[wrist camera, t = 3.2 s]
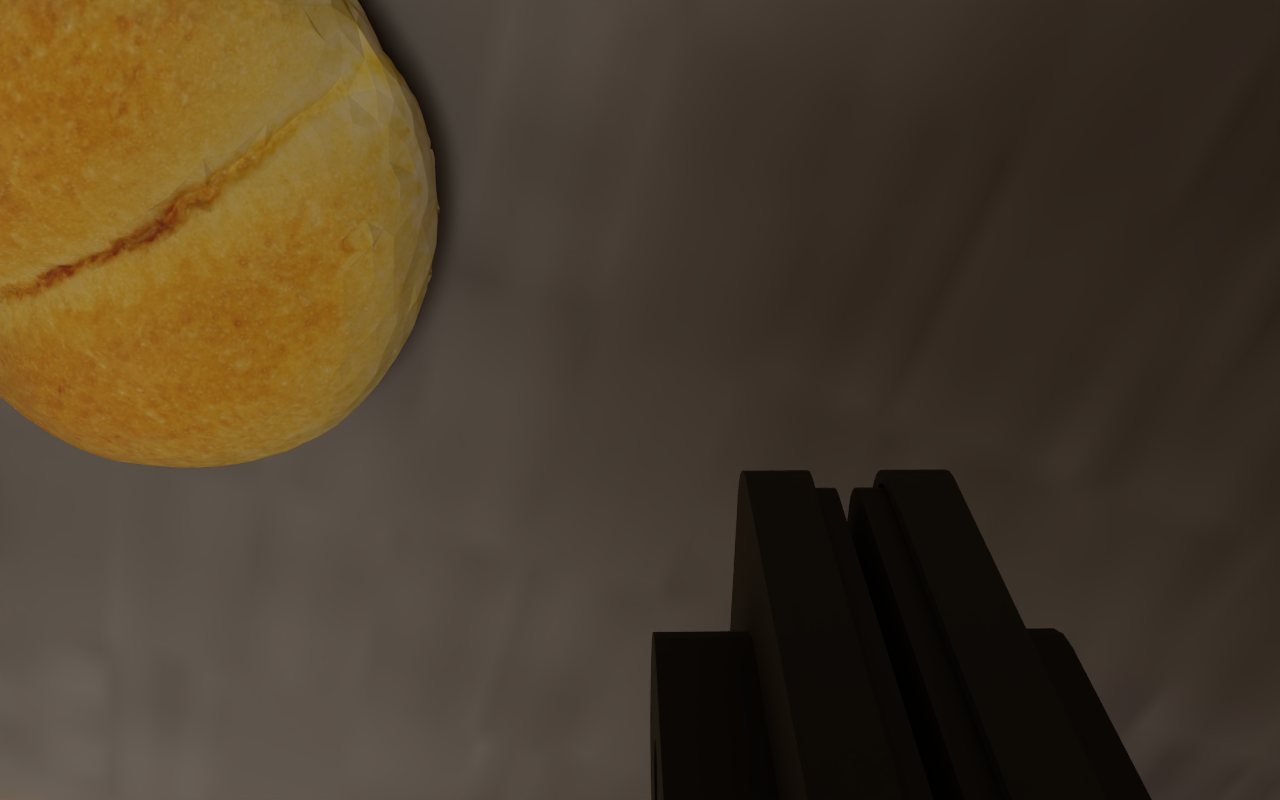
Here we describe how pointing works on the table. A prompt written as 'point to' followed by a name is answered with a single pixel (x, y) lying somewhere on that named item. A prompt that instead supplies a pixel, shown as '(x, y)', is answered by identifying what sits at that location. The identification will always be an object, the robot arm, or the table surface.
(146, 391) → the bread roll
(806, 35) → the table surface
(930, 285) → the table surface
